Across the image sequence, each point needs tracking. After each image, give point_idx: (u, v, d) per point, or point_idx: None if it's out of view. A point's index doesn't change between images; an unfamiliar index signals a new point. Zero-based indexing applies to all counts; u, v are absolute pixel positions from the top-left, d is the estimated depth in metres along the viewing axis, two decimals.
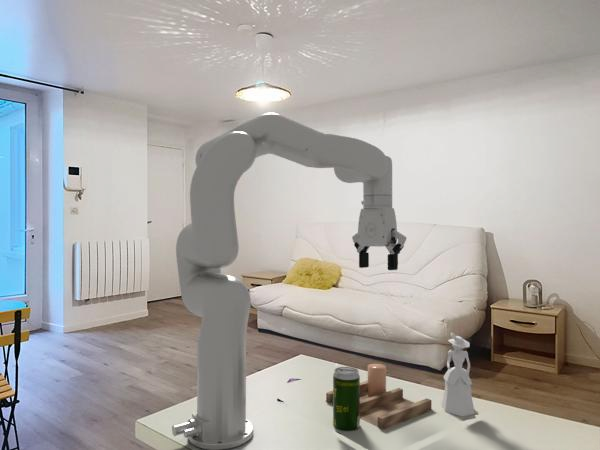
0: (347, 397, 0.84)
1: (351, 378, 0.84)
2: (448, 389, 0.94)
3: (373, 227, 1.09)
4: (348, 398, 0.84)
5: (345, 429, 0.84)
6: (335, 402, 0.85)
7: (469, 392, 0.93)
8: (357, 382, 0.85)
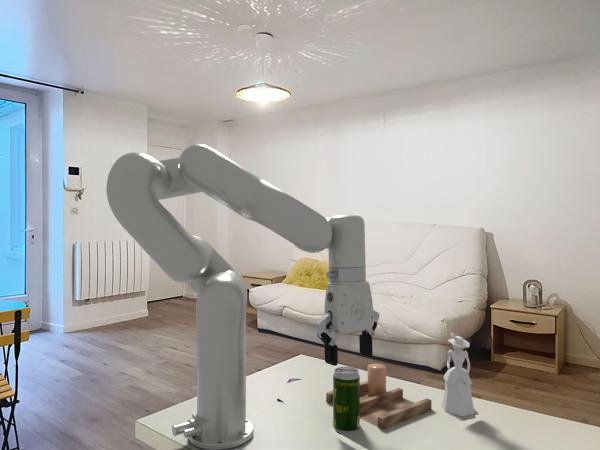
0: (347, 397, 0.84)
1: (351, 378, 0.84)
2: (448, 389, 0.94)
3: (360, 307, 0.85)
4: (348, 398, 0.84)
5: (345, 429, 0.84)
6: (335, 402, 0.85)
7: (469, 392, 0.93)
8: (357, 382, 0.85)
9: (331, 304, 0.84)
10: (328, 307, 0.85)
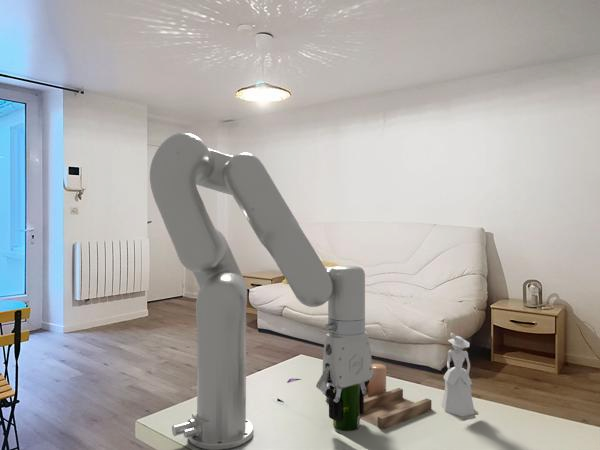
0: (347, 397, 0.84)
1: None
2: (448, 389, 0.94)
3: (359, 360, 0.85)
4: (348, 398, 0.84)
5: (345, 429, 0.84)
6: None
7: (469, 392, 0.93)
8: None
9: (329, 357, 0.83)
10: (326, 360, 0.84)
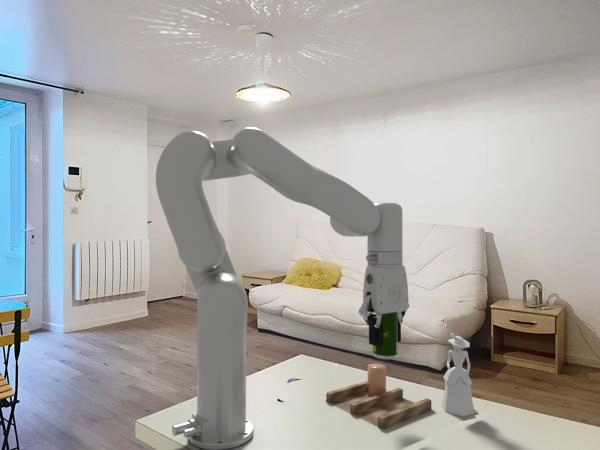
0: (387, 324, 0.90)
1: None
2: (448, 389, 0.94)
3: (397, 289, 0.91)
4: (387, 324, 0.90)
5: (385, 353, 0.90)
6: None
7: (469, 392, 0.93)
8: None
9: (370, 285, 0.89)
10: (367, 289, 0.90)
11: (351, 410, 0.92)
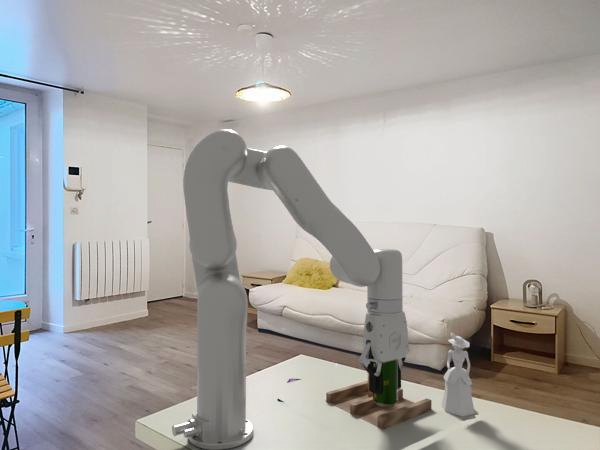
0: (387, 372, 0.90)
1: None
2: (448, 389, 0.94)
3: (397, 337, 0.91)
4: (388, 372, 0.90)
5: (385, 401, 0.90)
6: None
7: (469, 392, 0.93)
8: None
9: (370, 334, 0.89)
10: (367, 336, 0.90)
11: (351, 410, 0.92)
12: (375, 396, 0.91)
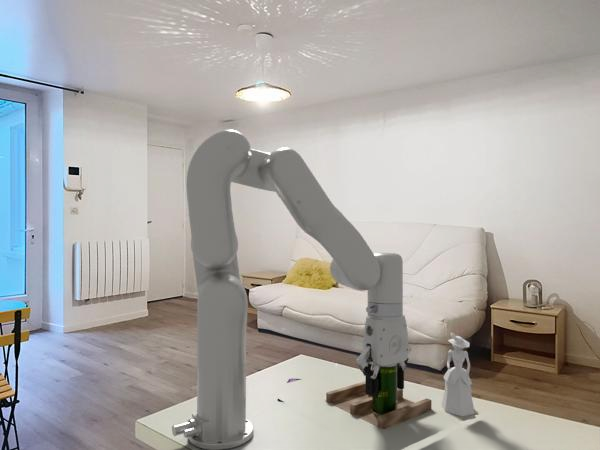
0: (386, 383, 0.89)
1: (390, 365, 0.89)
2: (448, 389, 0.94)
3: (397, 341, 0.91)
4: (387, 383, 0.89)
5: (384, 412, 0.89)
6: None
7: (469, 392, 0.93)
8: (395, 369, 0.90)
9: (370, 337, 0.89)
10: (367, 340, 0.90)
11: (351, 410, 0.92)
12: (374, 407, 0.91)
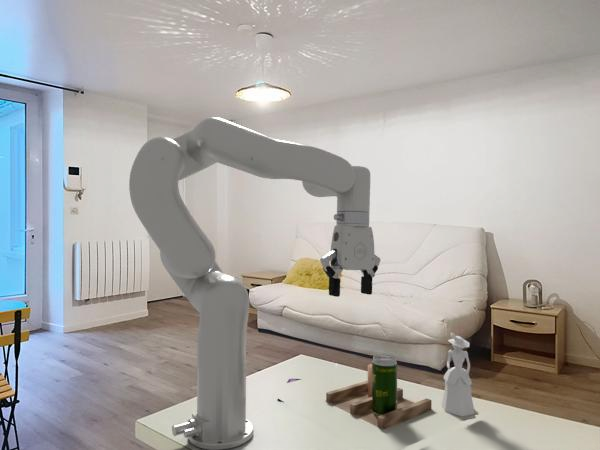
0: (386, 383, 0.90)
1: (390, 364, 0.90)
2: (448, 389, 0.94)
3: (363, 248, 0.96)
4: (387, 383, 0.90)
5: (384, 412, 0.89)
6: (374, 387, 0.91)
7: (469, 392, 0.93)
8: (395, 368, 0.91)
9: (337, 242, 0.95)
10: (334, 246, 0.95)
11: (351, 410, 0.92)
12: (374, 407, 0.91)
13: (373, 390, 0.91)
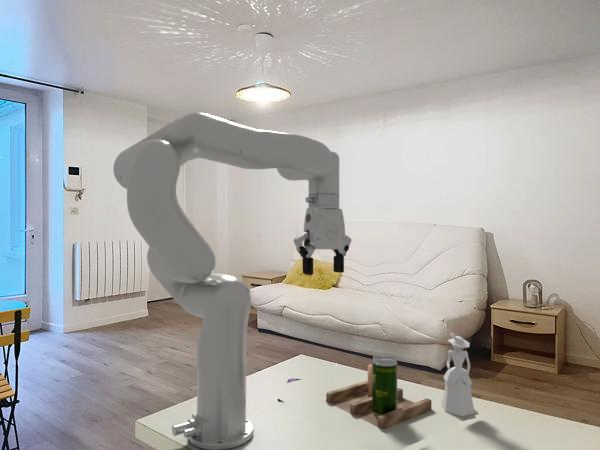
0: (386, 383, 0.90)
1: (390, 364, 0.90)
2: (448, 389, 0.94)
3: (334, 229, 1.02)
4: (387, 383, 0.90)
5: (384, 412, 0.89)
6: (374, 387, 0.91)
7: (469, 392, 0.93)
8: (395, 368, 0.91)
9: (309, 224, 1.00)
10: (306, 227, 1.01)
11: (351, 410, 0.92)
12: (374, 407, 0.91)
13: (373, 390, 0.91)
